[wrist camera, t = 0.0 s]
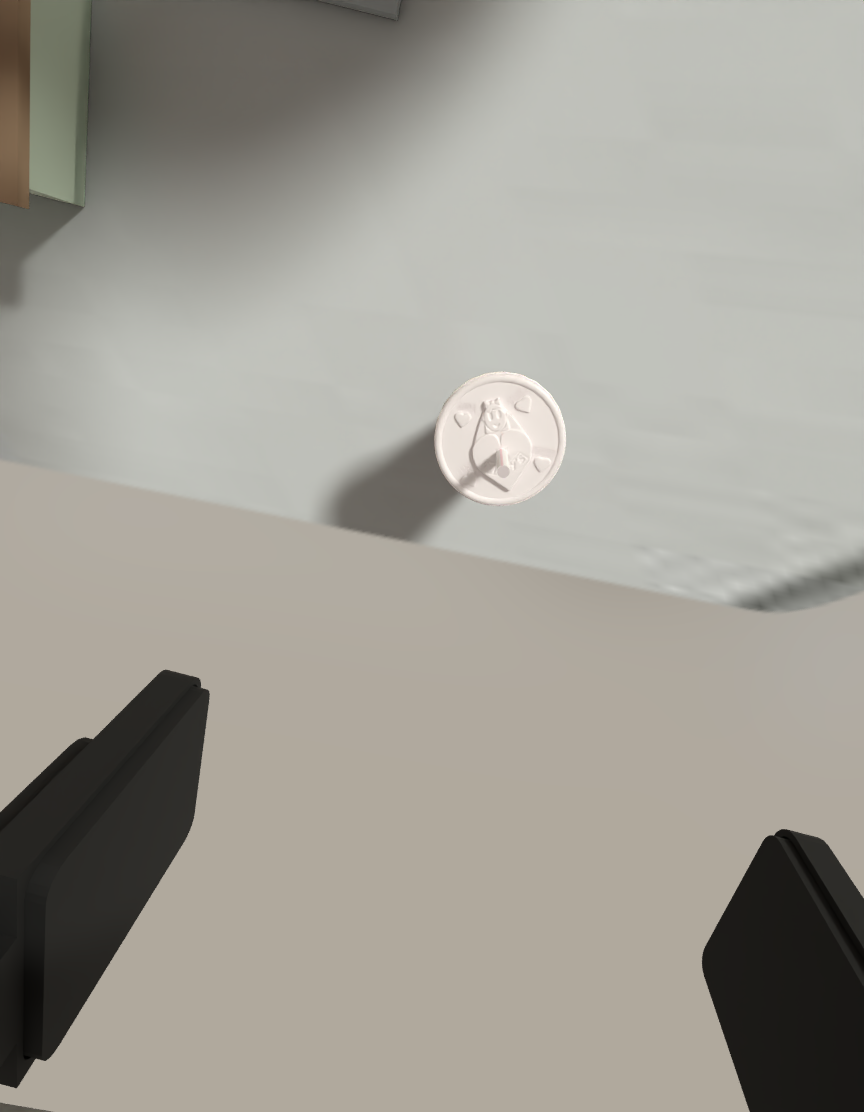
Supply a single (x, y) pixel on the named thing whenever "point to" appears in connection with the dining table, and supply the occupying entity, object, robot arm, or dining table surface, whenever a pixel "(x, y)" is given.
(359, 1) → the mat
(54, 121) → the dish
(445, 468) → the smoothie
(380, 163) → the dining table surface
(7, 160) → the lid
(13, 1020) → the robot arm
